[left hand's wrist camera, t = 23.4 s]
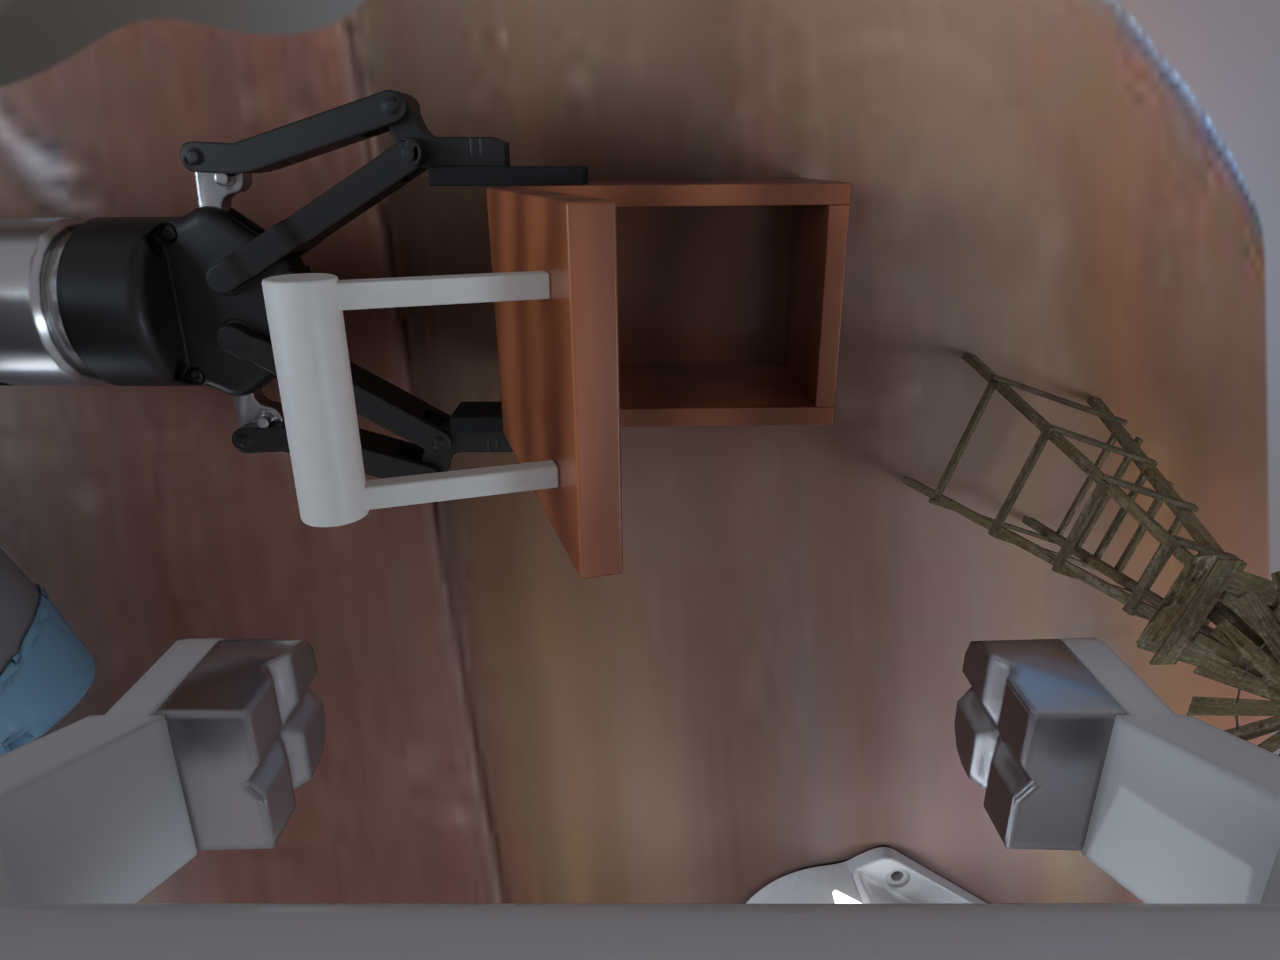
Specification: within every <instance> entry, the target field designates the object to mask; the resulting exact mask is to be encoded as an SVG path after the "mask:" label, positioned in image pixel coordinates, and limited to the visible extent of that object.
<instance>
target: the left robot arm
mask: <svg viewBox="0 0 1280 960" xmlns="http://www.w3.org/2000/svg"><path fill="white" fill-rule="evenodd" d="M317 671H318V670H317V665H316V660H315V655H314V650H313V647H312V646H311V645H310V644H309V643H308V642H307V641H306V640H282V639H232V638H228V639H223V638H187V639H182V640H177V641H176V642H175V643H174V644H173V645H172V646H171V647H170V648H169V649H168V650H167V651H166V652H165V653H164V654H163V655H162V656H161V657H160V659H159V660H158V661H157V662H156V663H155V664H154V665H153V666H152V667H151V668H150V669H149V670H148V671H147V672H146V673H145V674H144V675H143V676H142V677H141V678H140V679H139V680H138V681H137V682H136V683H135V684H134V685H133V686H132V687H131V688H130V689H129V690H128V691H127V692H126V693H125V694H124V695H123V696H122V697H121V698H120V699H119V700H118V701H117V702H116V704H115V705H114V706H113V707H112V708H111V709H110V710H109V711H108V712H107V713H106V714H105V715H90V716H88V717H86V718H83V719H81V720H79V721H77V722H75V723H72V724H70V725H68V726H66V727H63V728H61V729H59V730H57V731H55V732H52V733H50V734H48V735H46V736H43V737H41V738H39V739H37V740H35V741H32V742H30V743H28V744H26V745H24V746H21V747H19V748H17V749H15V750H12V751H10V752H8V753H6V754H4V755H1V756H0V960H1280V756H1278V755H1276V754H1274V753H1272V752H1270V751H1267V750H1265V749H1263V748H1261V747H1258V746H1256V745H1254V744H1252V743H1250V742H1247V741H1245V740H1243V739H1241V738H1239V737H1236V736H1234V735H1232V734H1230V733H1228V732H1225V731H1223V730H1221V729H1219V728H1217V727H1214V726H1212V725H1210V724H1208V723H1205V722H1203V721H1201V720H1199V719H1197V718H1194V717H1192V716H1190V715H1175V714H1174V713H1173V712H1172V711H1171V710H1170V709H1169V708H1168V706H1167V705H1166V704H1165V703H1164V702H1163V701H1162V700H1161V699H1160V698H1159V697H1158V696H1157V695H1156V694H1155V693H1154V692H1153V691H1152V690H1151V689H1150V688H1149V687H1148V686H1147V685H1146V684H1145V683H1144V682H1143V681H1142V680H1141V679H1140V678H1139V677H1138V676H1137V675H1136V674H1135V673H1134V672H1133V671H1132V670H1131V669H1130V668H1129V667H1128V665H1127V664H1126V663H1125V662H1124V661H1123V660H1122V659H1121V658H1120V657H1119V656H1118V655H1117V654H1116V653H1115V652H1114V651H1113V650H1112V649H1111V648H1110V647H1109V646H1108V645H1107V644H1106V643H1105V642H1104V641H1101V640H1099V639H1096V638H1068V639H1038V640H998V641H971V642H970V645H969V647H968V649H967V651H966V653H965V659H964V665H963V670H962V671H963V673H964V674H965V676H966V677H967V679H968V681H969V682H970V684H971V686H972V687H971V688H970V689H969V690H968V691H967V692H966V693H965V694H964V695H963V696H962V697H961V698H960V699H959V701H958V702H957V709H956V718H955V735H956V746H957V750H958V754H959V757H960V760H961V764H962V765H963V767H964V769H965V771H966V773H967V775H968V777H969V779H970V780H972V781H973V782H975V783H976V784H978V785H979V786H981V787H982V788H984V789H985V790H986V794H985V800H984V807H985V809H986V811H987V813H988V815H989V817H990V818H991V820H992V822H993V824H994V826H995V828H996V830H997V831H998V833H999V835H1000V837H1001V839H1002V841H1003V842H1004V844H1005V846H1006V848H1013V849H1049V850H1083V852H1082V854H1083V855H1084V856H1086V857H1087V858H1088V859H1089V860H1091V861H1092V862H1093V863H1094V864H1096V865H1097V866H1098V867H1099V868H1101V869H1102V870H1103V871H1104V872H1106V873H1107V874H1108V875H1110V876H1111V877H1112V878H1113V879H1115V880H1116V881H1117V882H1118V883H1120V884H1121V885H1122V886H1123V887H1125V888H1126V889H1127V890H1128V891H1130V892H1131V893H1132V894H1133V895H1135V896H1136V897H1137V898H1139V899H1140V900H1141V901H1142V902H1144V903H986V902H984V901H983V900H981V899H979V898H977V897H976V896H974V895H972V894H971V893H969V892H967V891H965V890H964V889H962V888H960V887H958V886H957V885H955V884H953V883H951V882H950V881H948V880H946V879H944V878H943V877H941V876H939V875H938V874H936V873H934V872H932V871H931V870H929V869H927V868H925V867H924V866H922V865H920V864H918V863H917V862H915V861H913V860H911V859H910V858H908V857H906V856H905V855H903V854H901V853H899V852H898V851H896V850H894V849H892V848H889V847H878V848H874V849H871V850H868V851H866V852H864V853H862V854H859V855H857V856H855V857H853V858H851V859H849V860H847V861H845V862H841V863H837V864H832V865H825V866H818V867H812V868H807V869H803V870H800V871H796V872H793V873H790V874H788V875H785V876H783V877H781V878H779V879H777V880H775V881H773V882H771V883H770V884H768V885H766V886H765V887H763V888H762V889H761V890H759V891H758V892H757V893H756V894H755V895H753V896H752V897H751V898H750V899H749V900H748V901H747V902H746V904H409V903H137V902H138V901H139V900H140V899H142V898H143V897H144V896H146V895H147V894H148V893H149V892H151V891H152V890H153V889H154V888H156V887H157V886H158V885H159V884H161V883H162V882H163V881H164V880H166V879H167V878H168V877H170V876H171V875H172V874H173V873H175V872H176V871H177V870H178V869H180V868H181V867H182V866H183V865H185V864H186V863H187V862H189V861H190V860H191V859H192V858H194V857H195V856H196V855H197V854H198V852H197V850H230V849H265V848H274V846H275V844H276V843H277V841H278V839H279V837H280V835H281V833H282V831H283V830H284V828H285V826H286V824H287V822H288V820H289V819H290V817H291V815H292V813H293V811H294V809H295V807H296V800H295V794H294V790H295V789H296V788H298V787H299V786H301V785H302V784H304V783H305V782H307V781H308V780H310V779H311V777H312V775H313V773H314V771H315V769H316V767H317V765H318V763H319V761H320V757H321V753H322V748H323V744H324V739H325V715H324V708H323V702H322V701H321V699H320V698H319V697H318V696H317V695H316V694H315V693H314V692H313V691H312V690H311V689H310V688H309V687H308V686H309V684H310V682H311V681H312V679H313V677H314V676H315V674H316V673H317ZM896 871H897V872H896Z"/></svg>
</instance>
